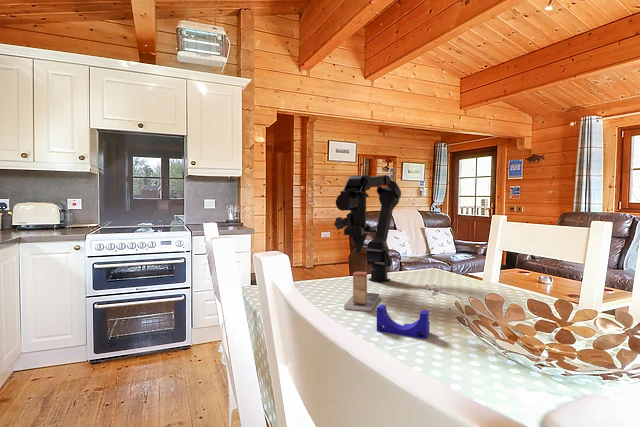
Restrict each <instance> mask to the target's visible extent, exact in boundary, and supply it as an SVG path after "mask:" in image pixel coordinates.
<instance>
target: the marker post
mask: <svg viewBox="0 0 640 427" xmlns="http://www.w3.org/2000/svg"><path fill="white" fill-rule="evenodd" d="M367 293H368V272H367V271H355V272H353V274H352V296H353V303H359V304H365V303H366V301H367Z"/></svg>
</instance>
